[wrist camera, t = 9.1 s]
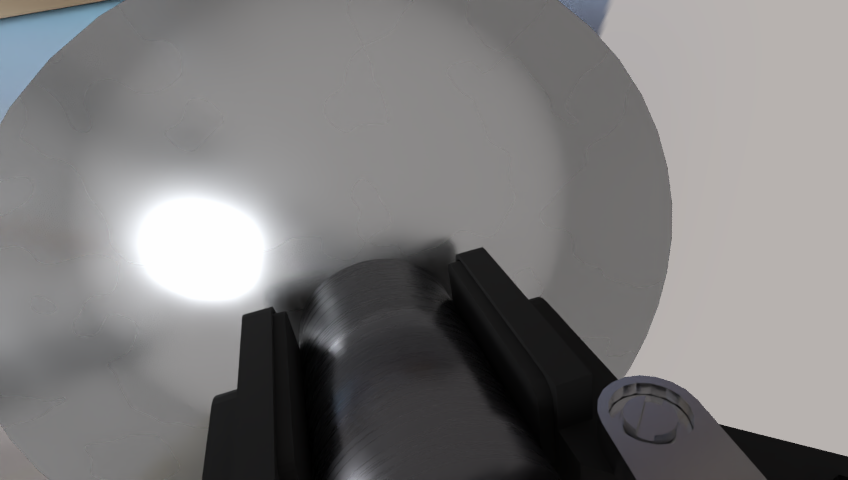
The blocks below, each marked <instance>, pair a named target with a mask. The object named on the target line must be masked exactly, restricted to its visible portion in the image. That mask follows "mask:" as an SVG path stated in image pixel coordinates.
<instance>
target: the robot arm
mask: <svg viewBox="0 0 848 480" xmlns="http://www.w3.org/2000/svg"><path fill="white" fill-rule="evenodd" d="M448 273H449V279H450V286H451V292H452V298H453V304H454V305H455V307H456V308H457V310H458V312H459V313H460V315H461V317H462V318H463V320H464V322H465V323H466V325H467V326H468V328H469V330H470V331H471V333H472V335H473V336H474V338H475V339H476V341H477V343H478V344H479V346H480V348H481V349H482V351H483V353H484V354H485V356H486V357H487V359H488V361H489V362H490V364H491V366H492V367H493V369H494V371H495V372H496V374H497V375H498V377H499V379H500V380H501V382H502V384H503V385H504V387H505V389H506V390H507V392H508V393H509V395H510V397H511V398H512V400H513V402H514V403H515V405H516V407H517V408H518V410H519V411H520V413H521V415H522V416H523V418H524V420H525V421H526V423H527V425H528V426H529V428H530V429H531V431H532V433H533V434H534V436H535V438H536V439H537V441H538V443H539V444H540V446H541V447H542V449H543V451H544V452H545V454H546V456H547V457H548V459H549V461H550V462H551V464H552V465H553V467H554V469H555V470H556V472H557V474H558V475H559V477H560V479H561V480H848V457H847V456H843V455H839V454H835V453H831V452H827V451H823V450H819V449H815V448H811V447H807V446H803V445H799V444H795V443H791V442H787V441H783V440H780V439H776V438H771V437H768V436H764V435H759V434H756V433H752V432H748V431H744V430H740V429H736V428H732V427H728V426H724V425H720V424H718V423H717V422H716V420H715V419H714V418H713V417H712V416H711V415H710V414H709V412H708V411H707V410H706V409H705V408H704V407H703V406H702V405H701V403H700V402H699V401H698V400H697V399H696V398H695V397H694V396H692V395H691V394H690V393H689V392H688V391H687V390H686V389H684V388H682V387H680V386H678V385H676V384H675V383H673V382H670V381H667V380H664V379H660V378H657V377H650V376H640V375H639V376H632V377H624V378H621V379H619V380H618V379H617V378H616V377H615V376H614V374H613V373H612V372H611V371H610V370H609V369H608V368H607V367H606V366H605V365H604V364H603V362H602V361H601V360H600V359H599V358H598V357H597V356H596V355H595V354H594V353H593V352H592V350H591V349H590V348H589V347H588V346H587V345H586V344H585V343H584V342H583V341H582V340H581V338H580V337H579V336H578V335H577V334H576V333H575V332H574V331H573V330H572V329H571V328H570V326H569V325H568V324H567V323H566V322H565V321H564V320H563V319H562V318H561V317H560V315H559V314H558V313H557V312H556V311H555V310H554V309H553V308H552V307H551V306H550V305H549V303H548V302H547V301H545V300H544V299H543V298H542V297H535V298H532V299H528V298H527V297H526V296H525V295H524V294H523V293H522V291H521V290H520V289H519V288H518V287H517V286H516V284H515V283H514V282H513V281H512V280H511V279H510V277H509V276H508V275H507V274H506V273H505V272H504V270H503V269H502V268H501V267H500V266H499V265H498V264H497V262H496V261H495V260H494V259H493V258H492V257H491V255H490V254H489V253H488V252H487V251H486V250H485V249H484V248H483V247H480V248H477V249H473V250H470V251H466V252H463V253H459V254H456V256H455V262H453V263H450V264H448ZM202 480H313V479H312V468H311V458H310V448H309V438H308V428H307V418H306V407H305V397H304V387H303V377H302V367H301V357H300V348H299V345H298V343H297V340H296V337H295V334H294V331H293V328H292V325H291V323H290V320H289V317H288V314H287V312H286V311H282V312H278V313H276V311H275V309H274V308H273V307H268V308H265V309H261V310H258V311H254V312H251V313H247V314H244V315H243V316H242V325H241V339H240V354H239V368H238V383H237V389H235V390H232V391H229V392H226V393H222V394H219V395H216V396H215V397H214V398H213V401H212V405H211V412H210V420H209V427H208V435H207V443H206V451H205V459H204V466H203V474H202Z"/></svg>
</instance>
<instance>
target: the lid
mask: <svg viewBox="0 0 848 480" xmlns="http://www.w3.org/2000/svg"><path fill="white" fill-rule="evenodd" d="M671 236H672V200H671V192H670V184H669V176H668V168H667V164H666V160H665V157H664V153H663V149H662V146H661V142H660V138H659V135H658V131H657V129H656V126H655V124H654V122H653V120H652V117H651V115H650V113H649V111H648V108H647V106H646V104H645V101H644V99H643V97H642V95H641V93H640V91H639V90H638V88H637V87H636V85H635V84H634V82H633V81H632V79H631V77H630V76H629V74H628V73H627V71H626V70H625V68H624V66H623V65H622V63H621V62H620V60H619V59H618V58H617V57H616V56H615V54H614V53H613V52H612V51H611V50H610V49H609V48H608V46H607V45H606V44H605V43H604V42H603V41H602V40H601V39H600V37H599V36H598V35H597V34H596V33H595V32H594V31H593V30H592V28H591V27H590V26H589V25H587V24H586V23H585V22H584V21H582V20H581V19H580V18H579V17H578V16H576V15H575V14H574V13H573V12H571V11H570V10H569V9H568V8H567V7H565V6H564V5H563V4H562V3H560V2H559V1H558V0H125V1H123V2H122V3H120V4H118V5H117V6H115V7H114V8H112V9H110V10H109V11H107V12H105V13H104V14H102V15H101V16H99V17H98V18H96V19H95V20H94V21H93V22H92V23H91V24H90V25H88V26H87V27H86V28H85V29H84V30H83V31H81V32H80V33H79V34H78V35H77V36H76V37H75V38H73V39H72V40H71V41H70V42H69V43H68V44H66V45H65V46H64V47H63V48H62V49H61V50H59V51H58V52H57V53H56V54H55V55H54V56H53V57H51V58H50V59H49V60H48V62H47V63H46V64H45V65H44V66H43V68H42V69H41V70H40V71H39V73H38V74H37V75H36V76H35V77H34V79H33V80H32V81H31V82H30V83H29V85H28V86H27V87H26V88H25V90H24V91H23V92H22V93H21V94H20V96H19V97H18V98H17V99H16V100H15V102H14V103H13V104H12V105H11V106H10V108H9V110H8V112H7V113H6V115H5V117H4V119H3V120H2V122H1V124H0V424H1V426H2V427H3V429H4V431H5V432H6V434H7V435H8V437H9V438H10V440H11V441H12V442H13V443H14V444H15V445H16V446H17V447H18V448H19V449H20V451H21V452H22V453H23V454H24V455H25V456H26V457H27V458H28V459H29V460H30V462H31V463H32V464H33V465H34V466H35V467H36V468H37V469H38V470H39V471H40V472H41V473H42V474H43V475H45V476H46V477H47V478H48V479H49V480H202V474H203V466H204V459H205V451H206V443H207V435H208V427H209V420H210V412H211V405H212V401H213V398H214V397H215V396H216V395H219V394H222V393H226V392H229V391H232V390H235V389H237V383H238V368H239V354H240V339H241V325H242V316H243V315H244V314H247V313H251V312H254V311H258V310H261V309H265V308H268V307H273V308H274V309H275V311H276V313H278V312H282V311H286V312H287V314H288V317H289V320H290V323H291V325H292V328H293V331H294V334H295V337H296V340H297V343H298V345H299V348H300V357H301V367H302V377H303V387H304V397H305V407H306V418H307V428H308V438H309V448H310V458H311V468H312V479H313V480H561V479H560V477H559V475H558V474H557V472H556V470H555V469H554V467H553V465H552V464H551V462H550V461H549V459H548V457H547V456H546V454H545V452H544V451H543V449H542V447H541V446H540V444H539V443H538V441H537V439H536V438H535V436H534V434H533V433H532V431H531V429H530V428H529V426H528V425H527V423H526V421H525V420H524V418H523V416H522V415H521V413H520V411H519V410H518V408H517V407H516V405H515V403H514V402H513V400H512V398H511V397H510V395H509V393H508V392H507V390H506V389H505V387H504V385H503V384H502V382H501V380H500V379H499V377H498V375H497V374H496V372H495V371H494V369H493V367H492V366H491V364H490V362H489V361H488V359H487V357H486V356H485V354H484V353H483V351H482V349H481V348H480V346H479V344H478V343H477V341H476V339H475V338H474V336H473V335H472V333H471V331H470V330H469V328H468V326H467V325H466V323H465V322H464V320H463V318H462V317H461V315H460V313H459V312H458V310H457V308H456V307H455V305H454V304H453V298H452V292H451V286H450V279H449V273H448V264H450V263H453V262H455V256H456V254H459V253H463V252H466V251H470V250H473V249H477V248H480V247H483V248H484V249H485V250H486V251H487V252H488V253H489V254H490V255H491V257H492V258H493V259H494V260H495V261H496V262H497V264H498V265H499V266H500V267H501V268H502V269H503V270H504V272H505V273H506V274H507V275H508V276H509V277H510V279H511V280H512V281H513V282H514V283H515V284H516V286H517V287H518V288H519V289H520V290H521V291H522V293H523V294H524V295H525V296H526V297H527V298H528V299H532V298H535V297H542V298H543V299H544V300H545V301H547V302H548V303H549V305H550V306H551V307H552V308H553V309H554V310H555V311H556V312H557V313H558V314H559V315H560V317H561V318H562V319H563V320H564V321H565V322H566V323H567V324H568V325H569V326H570V328H571V329H572V330H573V331H574V332H575V333H576V334H577V335H578V336H579V337H580V338H581V340H582V341H583V342H584V343H585V344H586V345H587V346H588V347H589V348H590V349H591V350H592V352H593V353H594V354H595V355H596V356H597V357H598V358H599V359H600V360H601V361H602V362H603V364H604V365H605V366H606V367H607V368H608V369H609V370H610V371H611V372H612V373H613V374H614V376H615V377H616V378H617V379H618V380H619V379H621V378H624V376H625V375H626V373H627V371H628V370H629V369H630V367H631V365H632V363H633V361H634V359H635V357H636V356H637V354H638V352H639V350H640V348H641V346H642V344H643V342H644V340H645V338H646V336H647V333H648V330H649V328H650V325H651V323H652V320H653V318H654V315H655V313H656V310H657V307H658V304H659V300H660V296H661V292H662V289H663V285H664V281H665V278H666V274H667V268H668V260H669V253H670V245H671V239H672V237H671Z"/></svg>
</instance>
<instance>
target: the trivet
mask: <svg viewBox="0 0 848 480" xmlns="http://www.w3.org/2000/svg"><path fill="white" fill-rule="evenodd" d="M101 1H106V0H0V19H2V18H7V17H13V16H19V15H25V14H31V13H37V12H42V11H48V10H54V9H60V8H66V7H72V6H77V5H83V4H89V3H95V2H101Z"/></svg>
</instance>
